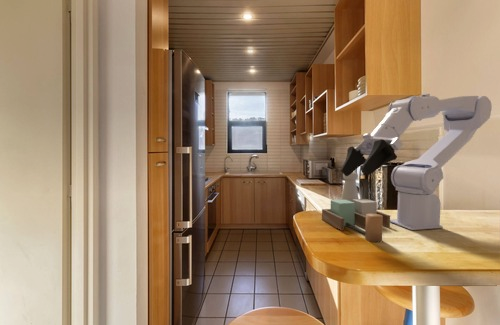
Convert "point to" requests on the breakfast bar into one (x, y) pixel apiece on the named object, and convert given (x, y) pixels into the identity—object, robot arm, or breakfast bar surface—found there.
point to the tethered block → (348, 213)
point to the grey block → (365, 206)
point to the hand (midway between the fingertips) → (354, 172)
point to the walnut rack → (359, 221)
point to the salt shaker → (350, 187)
